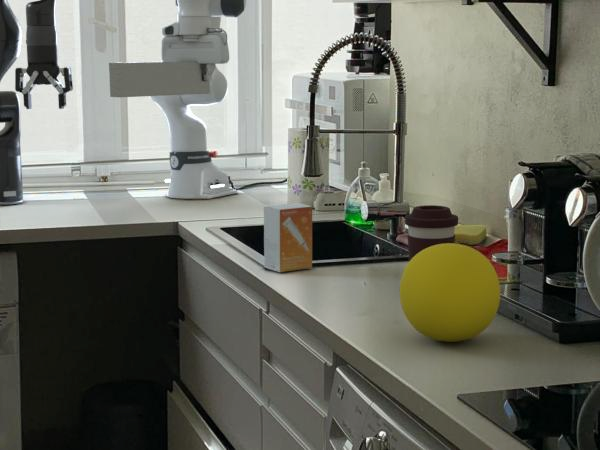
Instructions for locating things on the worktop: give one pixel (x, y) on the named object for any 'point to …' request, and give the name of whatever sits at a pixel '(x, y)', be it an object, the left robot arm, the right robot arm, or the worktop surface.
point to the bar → (157, 79)
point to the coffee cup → (429, 227)
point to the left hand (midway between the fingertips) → (45, 108)
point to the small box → (288, 237)
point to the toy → (450, 292)
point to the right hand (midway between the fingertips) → (195, 81)
